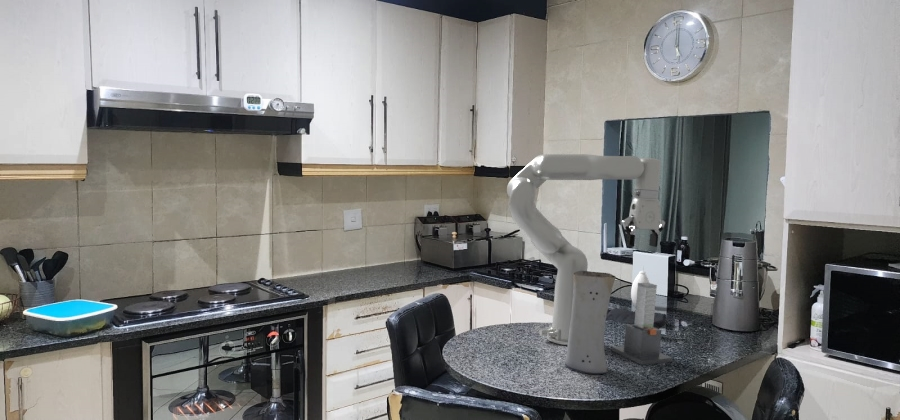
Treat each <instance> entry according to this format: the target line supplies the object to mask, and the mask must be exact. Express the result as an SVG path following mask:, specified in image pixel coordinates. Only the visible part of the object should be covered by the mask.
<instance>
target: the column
mask: <svg viewBox="0 0 900 420" xmlns="http://www.w3.org/2000/svg"><path fill="white" fill-rule="evenodd" d="M657 287H658V285H657V284H654V283H651V282H649V283H638V288H637V300H636V305H635V310H636V312H635V323H634V327H635V328H637V329H640V330H642V331H644V330H648V329H653V323H654V313H656V312H655V311H656V299H657Z"/></svg>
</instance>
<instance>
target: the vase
mask: <svg viewBox="0 0 900 420" xmlns="http://www.w3.org/2000/svg"><path fill="white" fill-rule="evenodd" d="M573 277H574V288H573V303H572V313H571V321H570V329H569V337H568V345H566V347H567V348H566V356H565V360H564V365H565V366H566V367H567V368H568V369H570V371H575V372H579V373H583V374H589V375H590V374H591V375H598V374H599V375H601V374H608V365H607V360H606V359H607V358H606V353H605V330H606V328H605V327H606V321H607V319H606V315H607V314H608V310H609V305H610V299H611V295H612V291H613V287H614V283H615V280H616V278H617V277H616V275H613V274H611V273H609V272H600V271H598V272H597V271H588V270H587V271H578V272H575V273H574V274H573Z"/></svg>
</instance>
